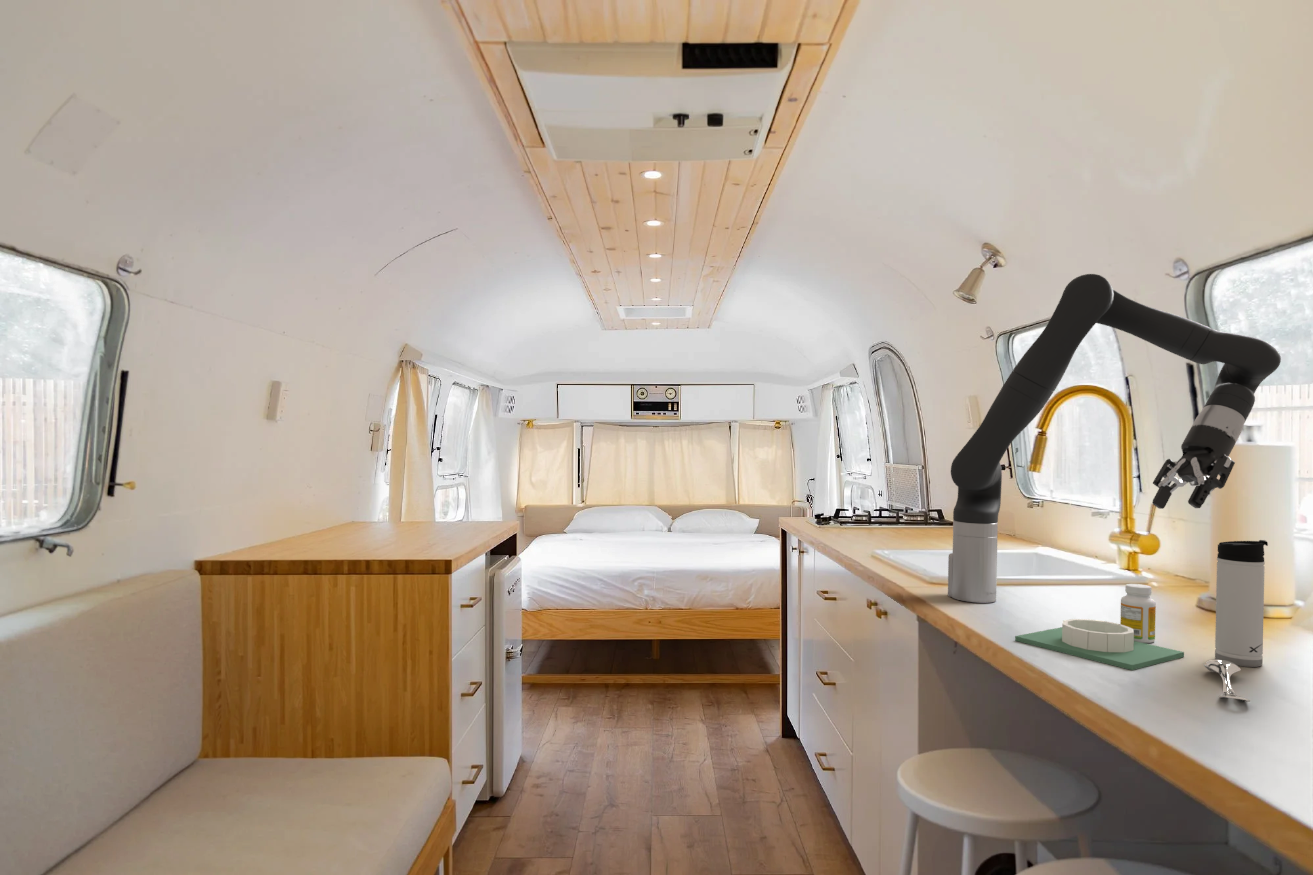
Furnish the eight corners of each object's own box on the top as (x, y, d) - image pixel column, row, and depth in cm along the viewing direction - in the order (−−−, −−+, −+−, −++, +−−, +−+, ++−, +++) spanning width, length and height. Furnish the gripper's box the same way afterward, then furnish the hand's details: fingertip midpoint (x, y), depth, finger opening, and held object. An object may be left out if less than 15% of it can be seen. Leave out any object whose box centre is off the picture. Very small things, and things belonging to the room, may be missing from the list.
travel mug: (1267, 670, 125) (1270, 542, 125) (1216, 663, 128) (1218, 539, 128) (1262, 660, 130) (1265, 539, 130) (1213, 654, 134) (1216, 535, 134)
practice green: (1015, 640, 140) (1015, 619, 140) (1067, 630, 149) (1067, 610, 149) (1132, 670, 123) (1132, 645, 123) (1184, 656, 132) (1184, 633, 132)
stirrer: (1259, 684, 105) (1215, 678, 107) (1259, 712, 105) (1215, 705, 107) (1238, 658, 122) (1201, 654, 125) (1238, 682, 122) (1201, 677, 124)
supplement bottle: (1145, 636, 145) (1146, 583, 145) (1161, 644, 140) (1162, 589, 140) (1114, 635, 146) (1115, 582, 146) (1128, 642, 140) (1130, 587, 140)
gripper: (1168, 427, 157) (1131, 495, 154) (1230, 418, 143) (1190, 493, 140) (1198, 449, 157) (1161, 517, 154) (1262, 442, 143) (1223, 517, 140)
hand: (1175, 506), depth 147 cm, fingers open, 8 cm apart
